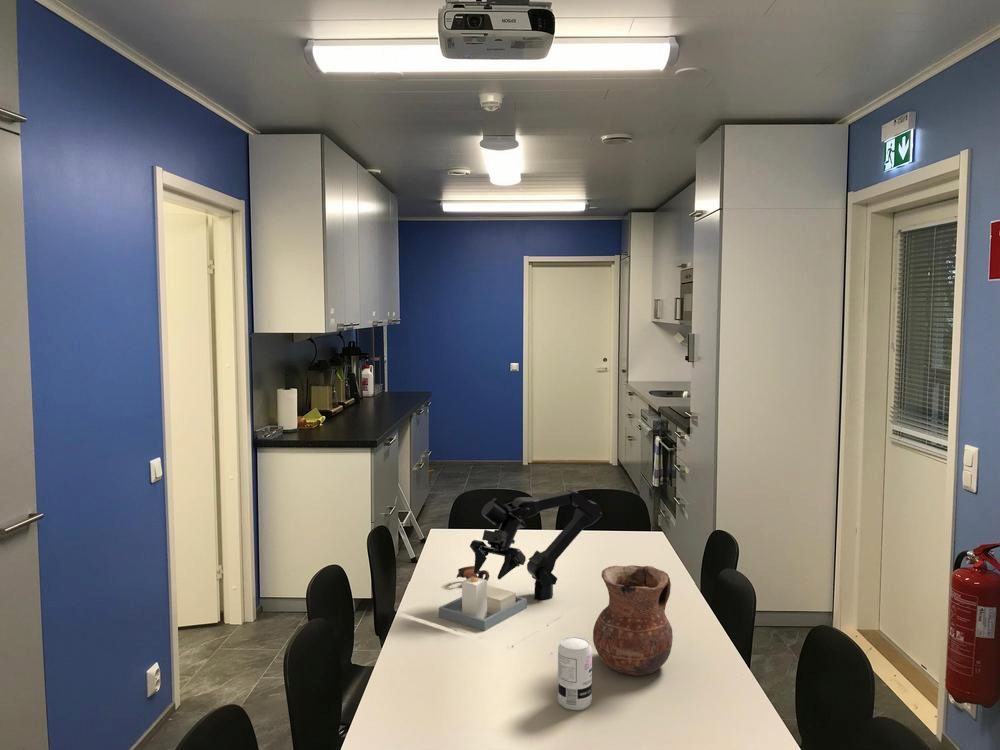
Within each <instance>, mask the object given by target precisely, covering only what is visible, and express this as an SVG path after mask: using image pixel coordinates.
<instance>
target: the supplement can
mask: <svg viewBox="0 0 1000 750" xmlns="http://www.w3.org/2000/svg"><path fill="white" fill-rule="evenodd" d="M592 673H593V648H592V647H591V644H590V641H588V639H585V638H583V637H579V636H568V637H565V638H562V639H561V641H560V643H559V645H558V646H557V702H558V703H559V705H561V707H563V708H564V709H567V710H570V711H582V710H586V709H587V708H588V707H589V706H590V705H591V704H592V703H593V702H592V700H593V689H592V688H593V684H592V683H593V674H592Z"/></svg>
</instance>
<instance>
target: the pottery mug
mask: <svg viewBox="0 0 1000 750" xmlns="http://www.w3.org/2000/svg"><path fill="white" fill-rule="evenodd" d="M474 566H475V565H471V566H470V565H469V566H464V567H461V568H458V569H457V572H458V573H457V575H456V579H458V578H462V579H465V580H467V579H469V578H471V577H477V578H481V579H485V580H487V582H488V581H489V579H490V573H489V571H488V570H485V569H484V570H483V569H482V570H481V569H480V570H479V571H478V572H477V574H475V573H474Z"/></svg>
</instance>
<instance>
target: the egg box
mask: <svg viewBox="0 0 1000 750" xmlns="http://www.w3.org/2000/svg"><path fill="white" fill-rule="evenodd" d="M516 596H517V592H516V591H512V590H508V589H504V588H500V587H498V586H497V587H496V586H492V585H489V584H487V612H489V613H493V614H495V613H497V612H499V611H501V610H503V609H505V608H506V607H508V606H510V605H512V604H514V603H516Z"/></svg>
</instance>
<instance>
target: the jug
mask: <svg viewBox="0 0 1000 750" xmlns="http://www.w3.org/2000/svg"><path fill="white" fill-rule="evenodd" d="M600 576H601V578H602V580H603V583H605V584H604V585H605V587H606V588H607V592H608V596H609V597H608V598H609V599H608V605H607V606H606V607H604V609H602V610H601V612H600V613H599V615H598V616H597V619H596V621H595V623H594V625H593V631H592V642H593V646H594V647H595V651H597V654H598V655H599V657H600V659H601V660H602V662H604V663H605V665H607V666H608V667H609V668H610V669H612V670H613V671H616V672H619V673H621V674H623V675H628V676H632V677H633V676H634V677H636V676H639V677H640V676H648V675H651V674H654V673H655V672H656V671H657V670H659V669H660V668H661V667H662V666H663V665H664V664H665V663H666V662H667V661H668V659H669V657H670V654H671V650H672V647H673V637H674V636H673V628H672V625H671V622H670V621H669V619H668V617H667V615H666V608H667V607H666V605H667V603H668V601H669V598H670V595H671V589H672V588H671V586H672V583H671V578H670V576H669V575H668V573H667V572H665V571H664V570H661V569H658V568H656V567H654V566H652V565H645V566H643V565H641V566H640V565H625V566H623V565H612V566H608V567H606V568H604V569H603V570H602V571H601V575H600Z"/></svg>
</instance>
